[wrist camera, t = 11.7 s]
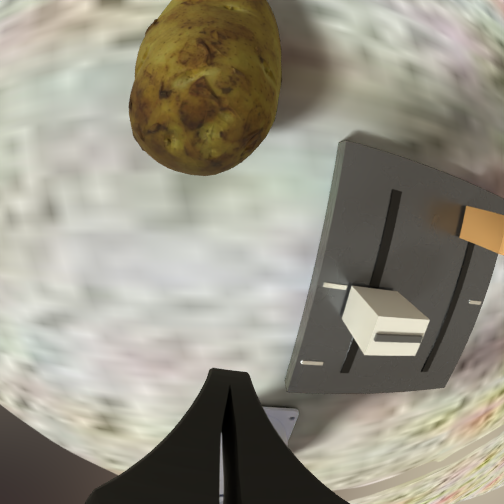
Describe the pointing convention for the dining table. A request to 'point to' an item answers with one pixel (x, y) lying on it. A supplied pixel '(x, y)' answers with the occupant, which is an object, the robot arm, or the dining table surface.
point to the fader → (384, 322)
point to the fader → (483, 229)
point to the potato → (206, 84)
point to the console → (392, 272)
